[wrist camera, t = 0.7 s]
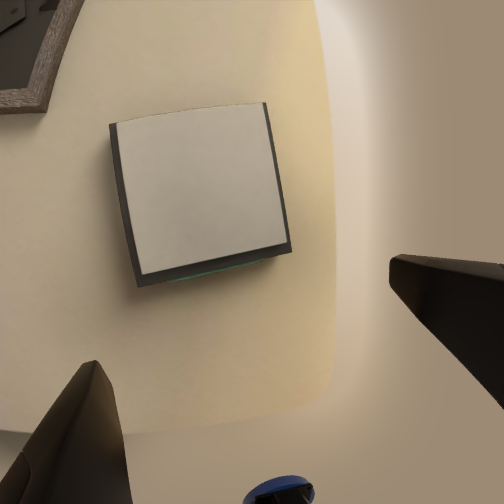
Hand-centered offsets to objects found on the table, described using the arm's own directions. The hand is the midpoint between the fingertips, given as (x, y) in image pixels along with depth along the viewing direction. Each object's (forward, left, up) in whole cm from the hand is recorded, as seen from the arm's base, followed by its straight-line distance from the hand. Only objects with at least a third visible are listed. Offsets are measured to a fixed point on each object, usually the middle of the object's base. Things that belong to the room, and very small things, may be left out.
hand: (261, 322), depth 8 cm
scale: (+4, 0, -13) cm, 14 cm away
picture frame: (+19, +17, -14) cm, 29 cm away
